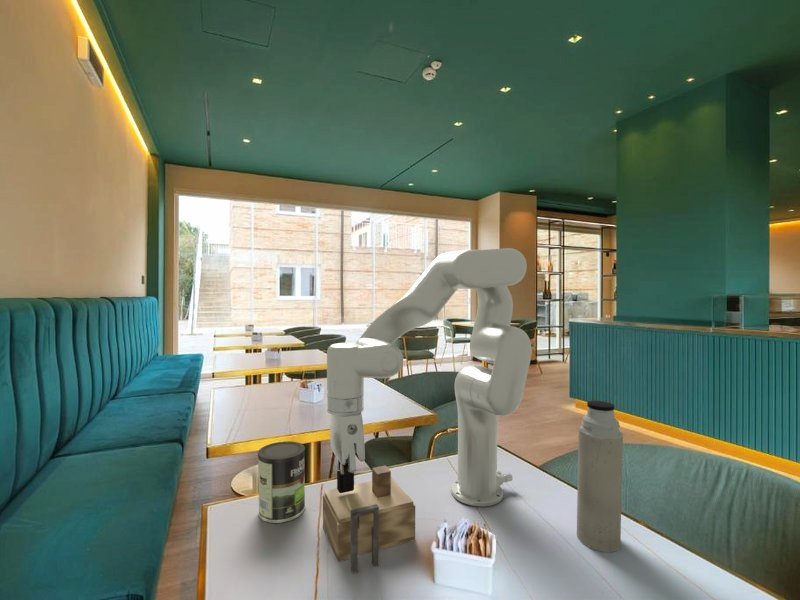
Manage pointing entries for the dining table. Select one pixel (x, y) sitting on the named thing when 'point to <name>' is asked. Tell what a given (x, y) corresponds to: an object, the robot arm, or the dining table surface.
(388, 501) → the lid
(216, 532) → the dining table surface
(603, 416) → the thermos bottle
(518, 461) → the dining table surface
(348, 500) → the tan rectangular block
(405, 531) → the wooden box
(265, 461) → the coffee can
